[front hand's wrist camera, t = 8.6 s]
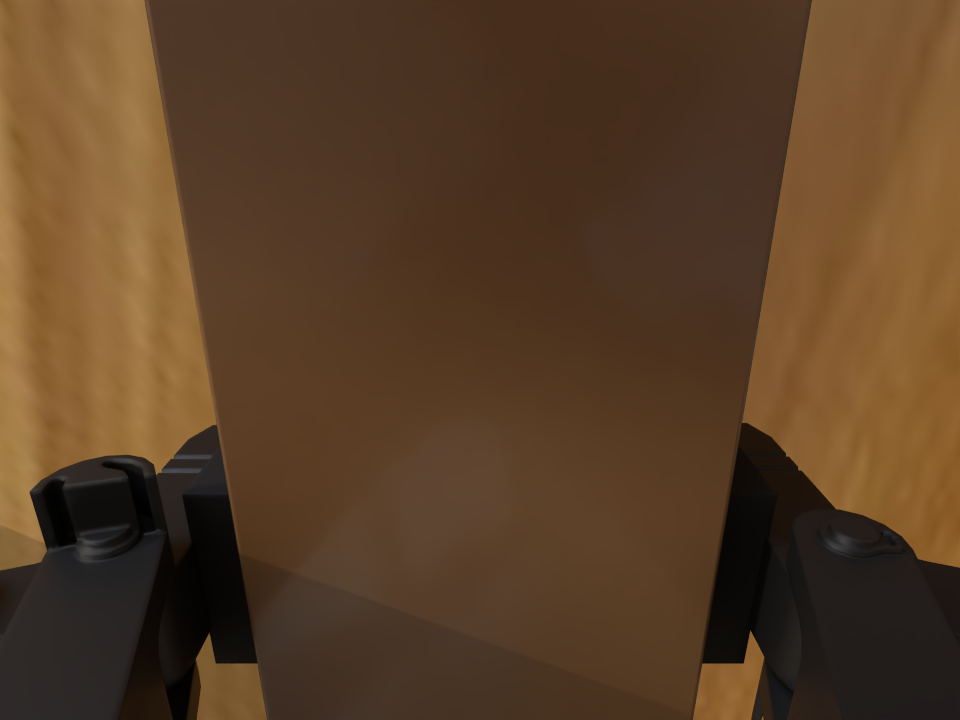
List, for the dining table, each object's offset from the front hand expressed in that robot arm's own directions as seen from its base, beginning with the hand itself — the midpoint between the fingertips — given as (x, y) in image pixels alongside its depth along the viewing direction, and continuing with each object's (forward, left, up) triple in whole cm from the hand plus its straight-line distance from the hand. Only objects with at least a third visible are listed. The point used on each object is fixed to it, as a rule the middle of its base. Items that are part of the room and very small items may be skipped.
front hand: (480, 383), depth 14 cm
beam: (+25, -28, -1) cm, 37 cm away
